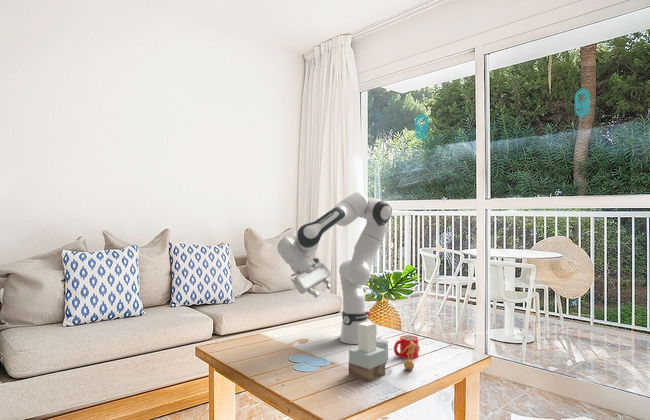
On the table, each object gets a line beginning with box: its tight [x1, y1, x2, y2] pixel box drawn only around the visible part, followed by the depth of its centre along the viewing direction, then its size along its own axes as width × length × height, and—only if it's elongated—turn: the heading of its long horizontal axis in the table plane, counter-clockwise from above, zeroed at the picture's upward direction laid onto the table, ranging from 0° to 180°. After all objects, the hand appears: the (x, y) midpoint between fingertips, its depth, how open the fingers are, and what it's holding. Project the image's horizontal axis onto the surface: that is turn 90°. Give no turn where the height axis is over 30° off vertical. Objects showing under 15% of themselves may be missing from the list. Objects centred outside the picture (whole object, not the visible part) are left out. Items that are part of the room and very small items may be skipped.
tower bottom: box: [348, 362, 386, 383], centre depth 164 cm, size 10×10×5 cm
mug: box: [393, 334, 419, 360], centre depth 186 cm, size 8×12×8 cm, turn 119°
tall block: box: [357, 322, 377, 353], centre depth 164 cm, size 5×5×10 cm
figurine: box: [402, 341, 421, 371], centre depth 169 cm, size 8×6×12 cm
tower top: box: [348, 346, 387, 369], centre depth 164 cm, size 10×10×5 cm
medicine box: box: [376, 338, 389, 364], centre depth 180 cm, size 8×4×9 cm, turn 71°
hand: (324, 292), depth 183 cm, fingers open, 8 cm apart
